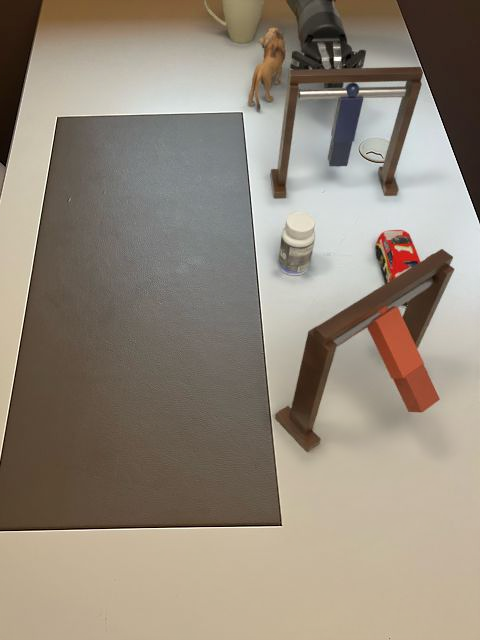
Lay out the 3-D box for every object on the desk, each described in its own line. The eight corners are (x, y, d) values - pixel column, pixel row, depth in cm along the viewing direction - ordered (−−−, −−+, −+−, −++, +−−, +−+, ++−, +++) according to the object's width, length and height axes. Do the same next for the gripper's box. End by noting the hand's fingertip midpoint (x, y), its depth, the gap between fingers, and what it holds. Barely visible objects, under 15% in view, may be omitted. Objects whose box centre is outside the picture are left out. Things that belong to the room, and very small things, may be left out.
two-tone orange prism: (368, 441, 67) (315, 334, 65) (463, 372, 72) (416, 270, 70) (381, 442, 65) (326, 332, 63) (478, 371, 70) (430, 266, 67)
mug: (238, 20, 134) (241, -43, 124) (272, 37, 130) (277, -27, 120) (201, 38, 130) (201, -25, 120) (234, 56, 126) (237, -8, 116)
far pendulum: (288, 159, 100) (299, 80, 89) (383, 156, 100) (405, 78, 89) (290, 167, 99) (300, 89, 88) (386, 165, 99) (408, 86, 88)
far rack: (270, 175, 104) (282, 61, 89) (389, 172, 104) (423, 58, 89) (273, 198, 101) (286, 84, 85) (396, 195, 101) (433, 81, 85)
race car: (428, 307, 88) (437, 288, 84) (389, 309, 88) (397, 289, 84) (407, 242, 95) (415, 221, 92) (372, 243, 95) (378, 222, 92)
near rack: (274, 418, 78) (293, 317, 62) (388, 342, 84) (431, 234, 68) (307, 452, 75) (335, 356, 59) (422, 371, 81) (475, 265, 65)
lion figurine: (258, 69, 123) (261, 22, 115) (284, 72, 122) (290, 24, 115) (245, 112, 115) (248, 63, 107) (273, 115, 114) (278, 67, 107)
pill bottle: (276, 253, 94) (282, 209, 87) (308, 254, 94) (316, 209, 87) (278, 276, 91) (284, 232, 84) (310, 277, 91) (319, 233, 84)
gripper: (285, 11, 106) (297, 66, 96) (363, 9, 106) (382, 64, 96) (280, 55, 112) (291, 111, 102) (354, 53, 112) (371, 109, 102)
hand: (335, 88), depth 99 cm, fingers closed
